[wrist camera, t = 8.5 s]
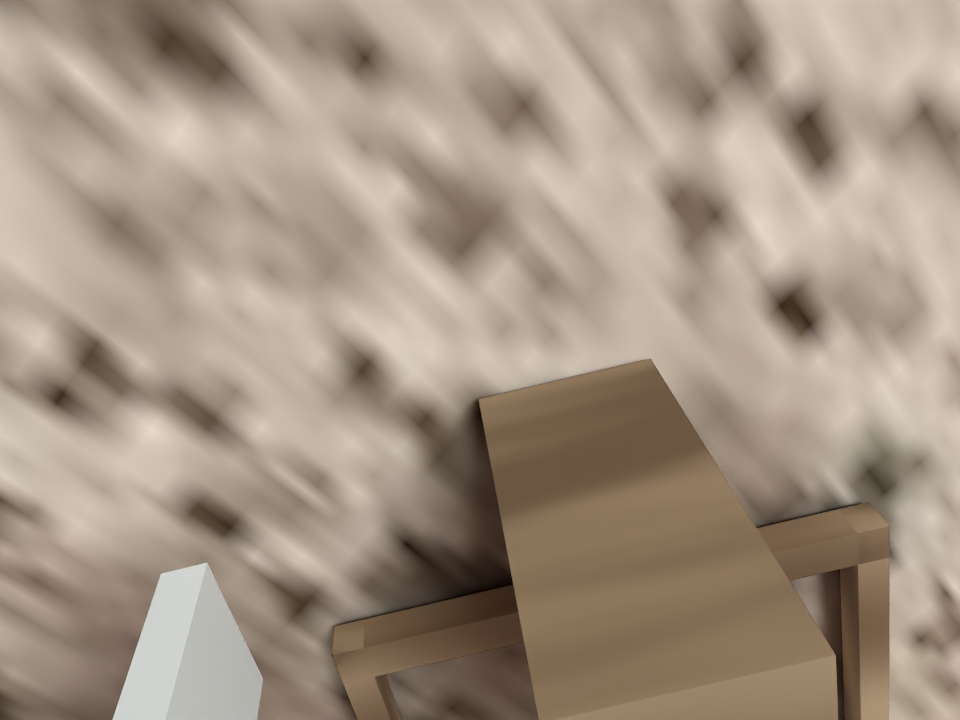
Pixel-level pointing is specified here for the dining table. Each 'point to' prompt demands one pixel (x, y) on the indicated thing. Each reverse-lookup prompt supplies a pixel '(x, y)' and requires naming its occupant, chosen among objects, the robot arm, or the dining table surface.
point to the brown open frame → (643, 575)
